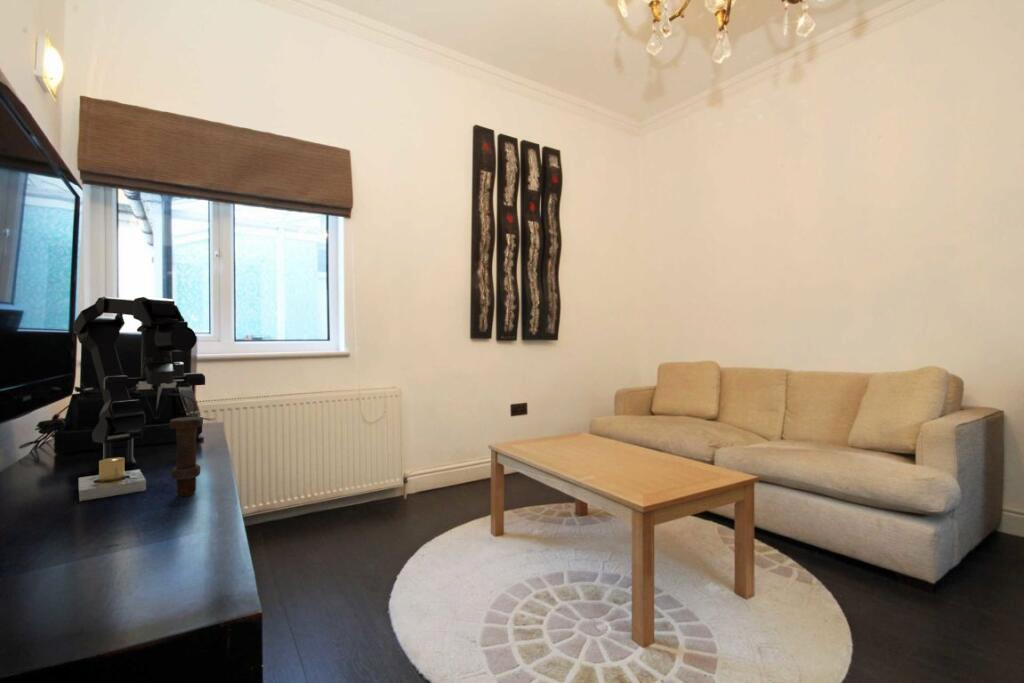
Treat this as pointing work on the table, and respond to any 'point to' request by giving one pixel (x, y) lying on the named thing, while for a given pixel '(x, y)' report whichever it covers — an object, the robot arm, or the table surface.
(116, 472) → the bushing
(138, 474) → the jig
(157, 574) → the table surface
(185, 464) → the bolt
